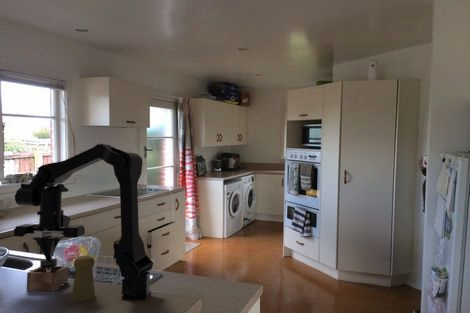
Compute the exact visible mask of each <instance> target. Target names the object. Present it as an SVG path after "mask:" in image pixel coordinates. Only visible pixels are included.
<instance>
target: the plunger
mask: <svg viewBox="0 0 470 313" xmlns="http://www.w3.org/2000/svg"><path fill="white" fill-rule="evenodd" d="M39 262H40V264H39V267H46V273H51V267H53V266H58V258H56V257H52V259H51V260H46V258H43V259H41V260H40V261H39Z"/></svg>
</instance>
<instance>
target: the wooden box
mask: <svg viewBox="0 0 470 313" xmlns="http://www.w3.org/2000/svg"><path fill="white" fill-rule="evenodd" d="M68 279H69V266H68V265H56V266H53V267H51V273H46V267H40V266H38V267H36V268H34V269H33V270H30V271H28V272H27V273H26V291H29V292H31V291H32V292H33V291H34V292H56V291H57V290H58V289H57V288H59V287H60V286H61V285H62V284H64V283H65V282H66V281H68V282H69V280H68ZM60 288H61V287H60ZM60 288H59V289H60ZM56 289H57V290H56ZM55 290H56V291H55Z"/></svg>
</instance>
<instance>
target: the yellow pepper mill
mask: <svg viewBox="0 0 470 313" xmlns="http://www.w3.org/2000/svg"><path fill="white" fill-rule="evenodd" d="M94 265H95V259H94V257H93V256H91V255H82V256H81V255H80V256H78V257H76V258H75V259H74V262H73V268H74V269H75V274H74V281H73V286H72V291H71V292H72V293H71V299H70V300H71V301H74V302H86V301H89V300H92V299H95V297H96V293H95V290H96V289H95V281H94V274H93V272H94V271H93V268H94Z"/></svg>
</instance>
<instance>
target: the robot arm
mask: <svg viewBox="0 0 470 313" xmlns="http://www.w3.org/2000/svg"><path fill="white" fill-rule="evenodd" d="M100 161H103V162H104V163H106V164H108V165H110V166H112V167H113V168H112V169H113V172H114V176H115V178H116V179H117V180H116V181H117V182H118V184H119V196H120V197H119V202H120V203H119V204H120V209H119V210H120V233H121V234H120V239H119V241H117V242H115V243H113V253H114V254H113V260H114V259H115V264H116V266H118V268H119V272H120V275H121V278H123V279H122V280H121V295H122V296H121V300H146V299H147V298H148V297H149V295H150V294H151V289H150V271H151V270H152V269H153V266H154V262H153V261H152V260H151V258H150V256H148V255H147V253H146V248H145V243H144V241H143V239H142V237H141V235H140V226H139V197H138V196H139V195H138V194H139V193H138V183H139V180H140V178H141V176H142V170H143V164H144V163H143V158H142V157H141V155H139V154H138V153H136V152H127V151H124V150H122V149H118V148H116V147H114V146H112V145H111V144H105V143H97V144H96V145H94V146H93V147H91V148H90V147H89V148H88V149H87V150H84V151H82V152H79V153H77V154H76V155H73V156H71V157H69V158H67V159H64V160H61V161H56V162H55V161H54V162H50V163H46V164H42V165H40V166H39V167H38V168H37V172H36V174H35V175H34V176H33V178H32V179H31V182H28V183H27V182H25V183H24V182H22V183H20V187H19V188H18V189H17V190H16V192H15V195H14V200H15V203H16V204H17V206H22V207H39V210H38V211H37V212H36V215H37V216H39V217H38V218H39V219H38V220H39V221H38V223H39V224H38V225H37V224H36V223H34V224H33V223H24V224H19V225H16V226H15V227H14V229H13V233H12V234H13V237H19V238H20V237H21V238H22V237H25V236H26V235H27V234H34V237H32V240H35V241H36V242H37V245H38V246H39V248H40V249H41V251H42V253H43V255H44V259H46V260H51V259H52V258H53V256H54V254H55V251H56V248H57V246H58V244H59V242H60V241H61V240H62V239H64V238H69V239H71V238H73V239H75V238H79V237H81V236H84V235H85V233H86V231H85V230H86V229H85V227H84V225H83V224H82V225H81V224H70V222H71V217H69V216H68V215H66V214H65V213H64V209H62V195H63V193H66V192H69V188H67V187H66V186H65V185H64V182H65V181H66V180H68V179H69V178H71V176H72V175H73V174H75V173H76V172H78V171H81V170H83V169H86V168H87V167H89V166H92V165H94V164H96V163H98V162H100Z"/></svg>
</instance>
